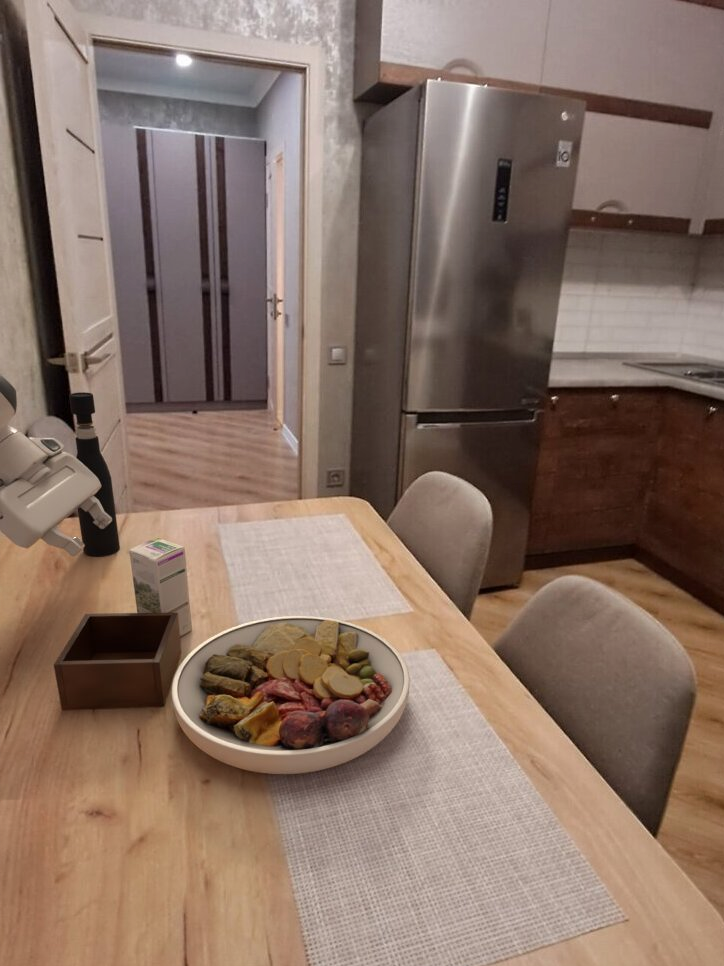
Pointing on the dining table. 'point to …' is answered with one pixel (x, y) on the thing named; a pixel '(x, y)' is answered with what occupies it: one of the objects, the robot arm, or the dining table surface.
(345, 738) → the bowl
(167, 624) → the box
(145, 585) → the syrup box
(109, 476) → the black water bottle
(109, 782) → the dining table surface
